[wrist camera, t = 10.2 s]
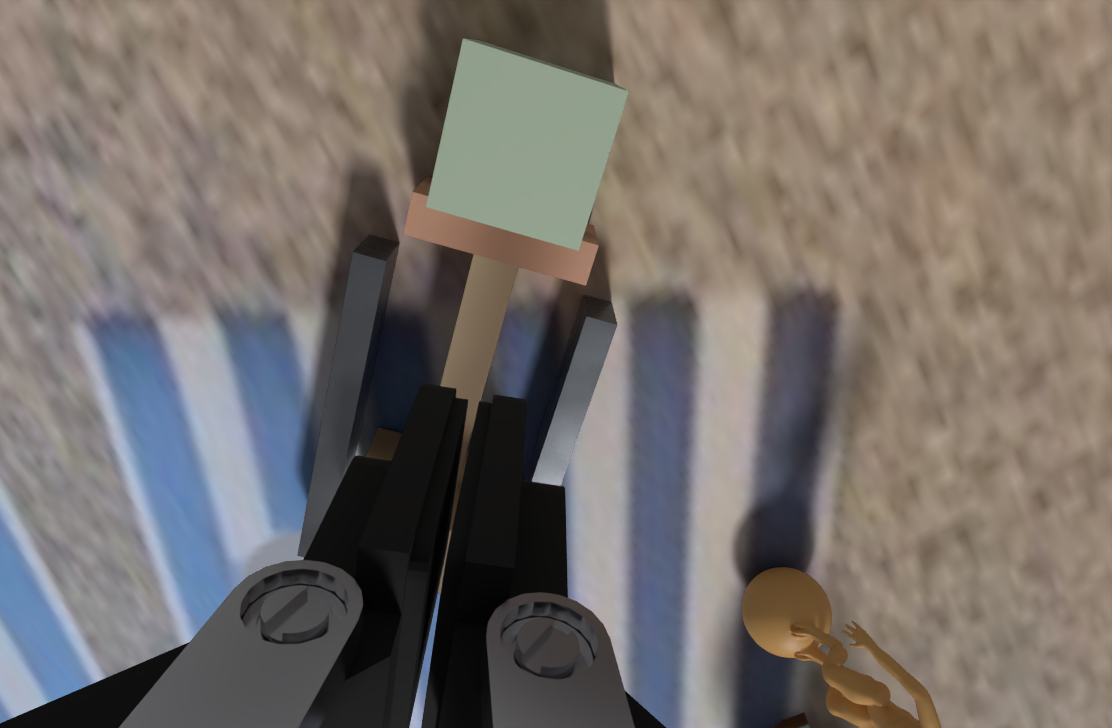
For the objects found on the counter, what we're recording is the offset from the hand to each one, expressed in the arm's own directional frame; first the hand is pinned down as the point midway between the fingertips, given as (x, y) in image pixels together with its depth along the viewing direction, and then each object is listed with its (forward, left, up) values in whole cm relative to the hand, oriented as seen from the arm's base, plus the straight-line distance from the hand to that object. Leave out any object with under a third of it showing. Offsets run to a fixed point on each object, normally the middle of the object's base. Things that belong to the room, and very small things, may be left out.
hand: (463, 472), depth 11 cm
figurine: (+18, -13, -18) cm, 28 cm away
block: (0, +3, -18) cm, 18 cm away
